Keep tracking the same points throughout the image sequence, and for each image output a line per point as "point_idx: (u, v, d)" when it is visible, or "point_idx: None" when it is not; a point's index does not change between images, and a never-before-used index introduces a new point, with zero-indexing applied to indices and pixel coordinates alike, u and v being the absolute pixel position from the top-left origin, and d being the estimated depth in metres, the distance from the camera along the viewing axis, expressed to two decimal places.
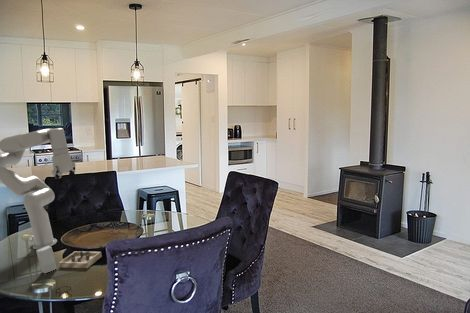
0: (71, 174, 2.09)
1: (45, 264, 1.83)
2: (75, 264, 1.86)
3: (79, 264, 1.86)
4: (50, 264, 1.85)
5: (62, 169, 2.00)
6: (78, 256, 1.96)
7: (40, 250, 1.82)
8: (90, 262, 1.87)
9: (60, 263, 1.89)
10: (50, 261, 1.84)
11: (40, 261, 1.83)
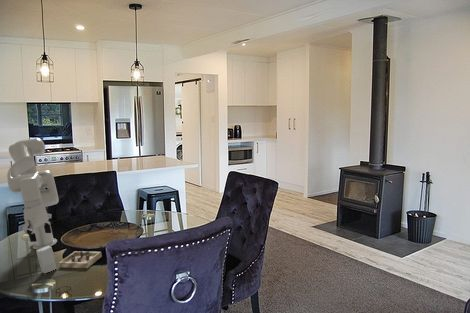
0: (46, 227, 1.86)
1: (45, 264, 1.83)
2: (75, 264, 1.86)
3: (79, 264, 1.86)
4: (50, 264, 1.85)
5: (35, 223, 1.76)
6: (78, 256, 1.96)
7: (40, 250, 1.82)
8: (90, 262, 1.87)
9: (60, 263, 1.89)
10: (50, 261, 1.84)
11: (40, 261, 1.83)
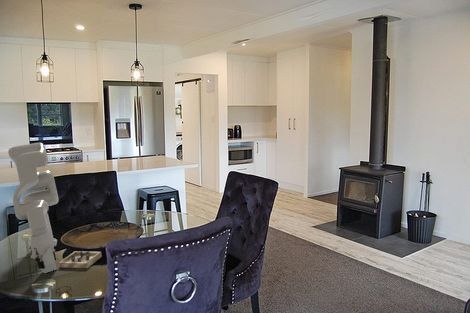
0: None
1: (45, 264, 1.83)
2: (75, 264, 1.86)
3: (79, 264, 1.86)
4: (50, 264, 1.84)
5: (41, 251, 1.79)
6: (78, 256, 1.96)
7: None
8: (90, 262, 1.87)
9: (60, 263, 1.89)
10: (50, 261, 1.84)
11: None
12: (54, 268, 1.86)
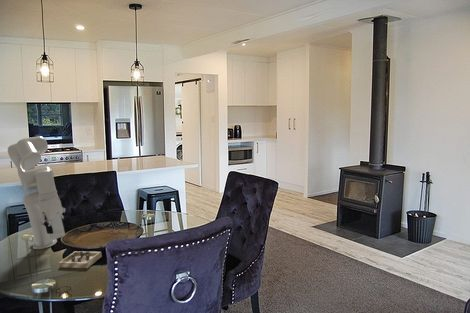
0: None
1: (54, 229, 1.82)
2: (75, 264, 1.86)
3: (79, 264, 1.86)
4: (58, 229, 1.84)
5: (50, 215, 1.79)
6: (78, 256, 1.96)
7: None
8: (90, 262, 1.87)
9: (60, 263, 1.89)
10: (59, 227, 1.84)
11: None
12: (62, 234, 1.86)
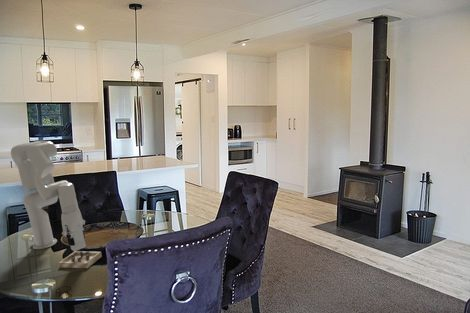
0: None
1: (75, 241, 1.88)
2: (75, 264, 1.86)
3: (79, 264, 1.86)
4: (80, 241, 1.89)
5: (72, 228, 1.84)
6: (78, 256, 1.96)
7: None
8: (90, 262, 1.87)
9: (60, 263, 1.89)
10: (80, 239, 1.89)
11: None
12: (83, 245, 1.91)
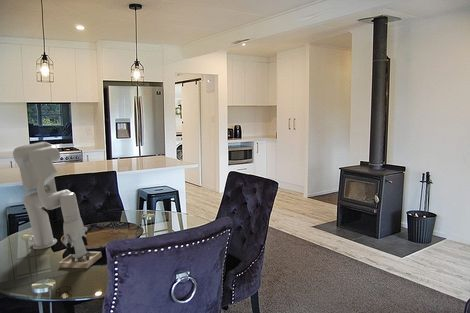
0: (83, 239, 1.95)
1: (76, 249, 1.88)
2: (75, 264, 1.86)
3: (79, 264, 1.86)
4: (80, 249, 1.90)
5: (74, 237, 1.85)
6: None
7: None
8: (90, 262, 1.87)
9: (60, 263, 1.89)
10: (80, 246, 1.90)
11: None
12: (84, 252, 1.92)
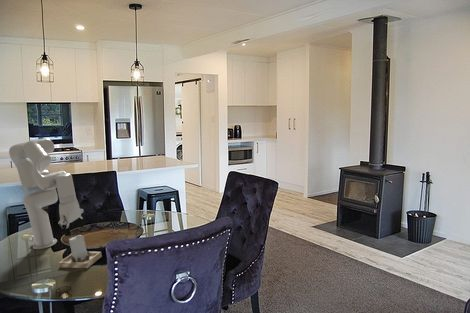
0: (79, 221, 1.93)
1: (77, 252, 1.89)
2: (75, 264, 1.86)
3: (79, 264, 1.86)
4: (82, 252, 1.90)
5: (69, 218, 1.84)
6: None
7: (72, 239, 1.88)
8: (90, 262, 1.87)
9: (60, 263, 1.89)
10: (82, 250, 1.90)
11: (72, 249, 1.88)
12: (85, 257, 1.92)
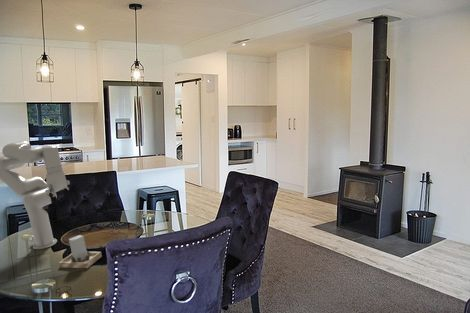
0: (65, 192, 2.07)
1: (77, 252, 1.88)
2: (75, 264, 1.86)
3: (79, 264, 1.86)
4: (82, 252, 1.90)
5: (56, 187, 1.97)
6: None
7: (72, 239, 1.88)
8: (90, 262, 1.87)
9: (60, 263, 1.89)
10: (82, 250, 1.90)
11: (72, 249, 1.88)
12: (85, 257, 1.92)
